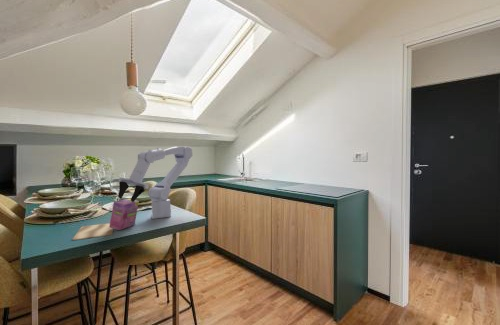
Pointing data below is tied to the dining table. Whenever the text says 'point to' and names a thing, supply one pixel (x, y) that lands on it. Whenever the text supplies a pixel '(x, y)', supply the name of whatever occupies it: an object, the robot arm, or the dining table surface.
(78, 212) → the dining table surface
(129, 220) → the box
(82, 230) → the wooden board
